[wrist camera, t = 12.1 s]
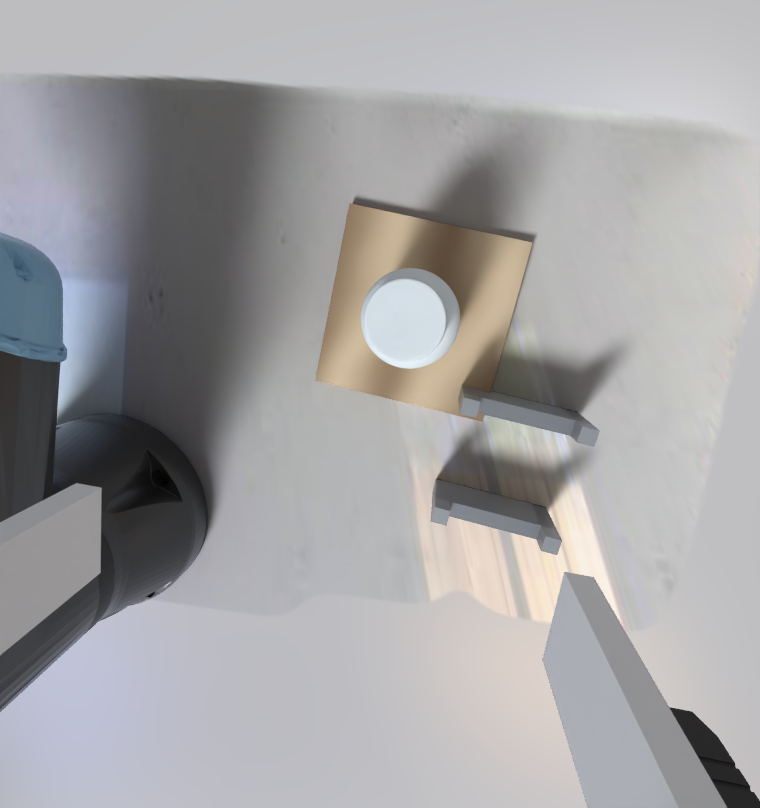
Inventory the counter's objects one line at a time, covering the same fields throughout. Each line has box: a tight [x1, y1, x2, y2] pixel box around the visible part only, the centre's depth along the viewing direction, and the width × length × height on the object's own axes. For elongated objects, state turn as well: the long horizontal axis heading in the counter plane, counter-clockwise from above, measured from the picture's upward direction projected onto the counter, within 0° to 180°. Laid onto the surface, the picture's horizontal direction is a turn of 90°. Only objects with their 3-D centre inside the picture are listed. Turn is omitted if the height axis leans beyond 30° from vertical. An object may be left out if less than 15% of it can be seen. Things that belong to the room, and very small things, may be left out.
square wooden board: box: [316, 204, 532, 421], centre depth 33 cm, size 12×12×1 cm
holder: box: [431, 386, 599, 555], centre depth 32 cm, size 8×8×5 cm
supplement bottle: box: [361, 268, 460, 369], centre depth 28 cm, size 5×5×10 cm
